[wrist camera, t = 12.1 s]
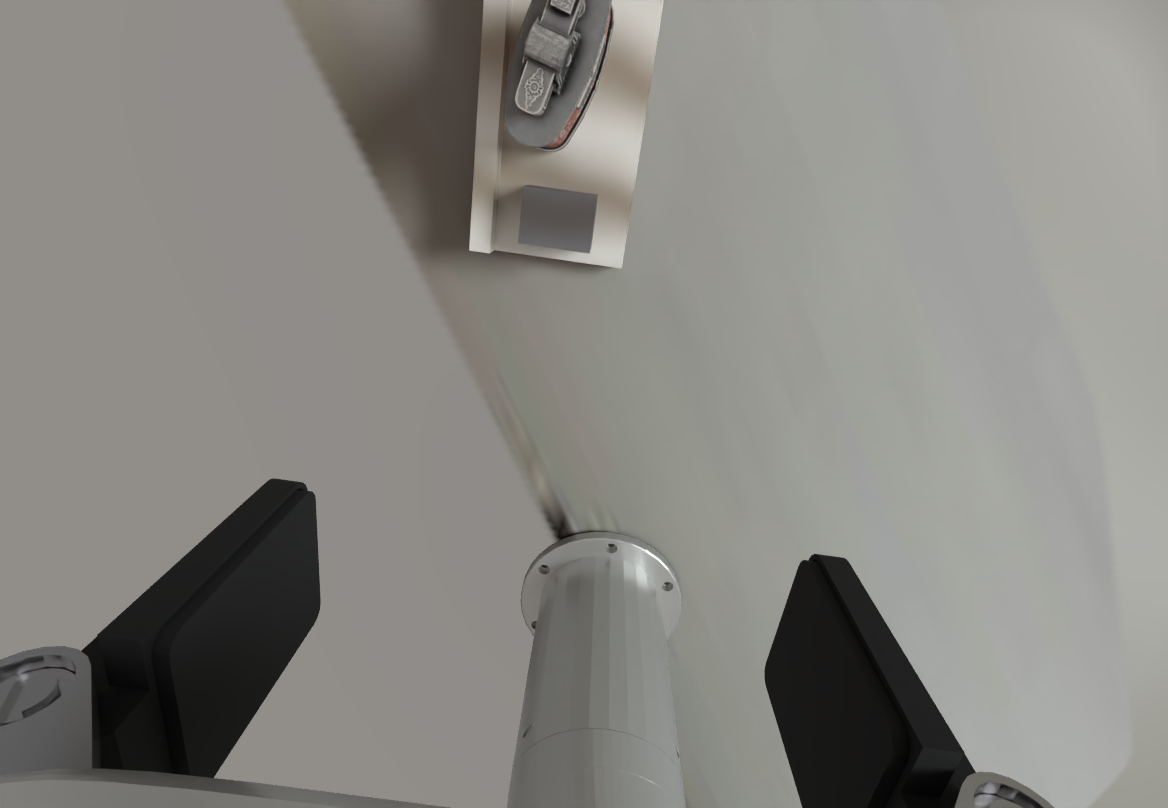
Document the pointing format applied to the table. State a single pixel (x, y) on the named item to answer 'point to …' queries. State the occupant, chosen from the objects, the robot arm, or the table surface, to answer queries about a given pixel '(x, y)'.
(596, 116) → the white base plate
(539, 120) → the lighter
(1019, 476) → the table surface
